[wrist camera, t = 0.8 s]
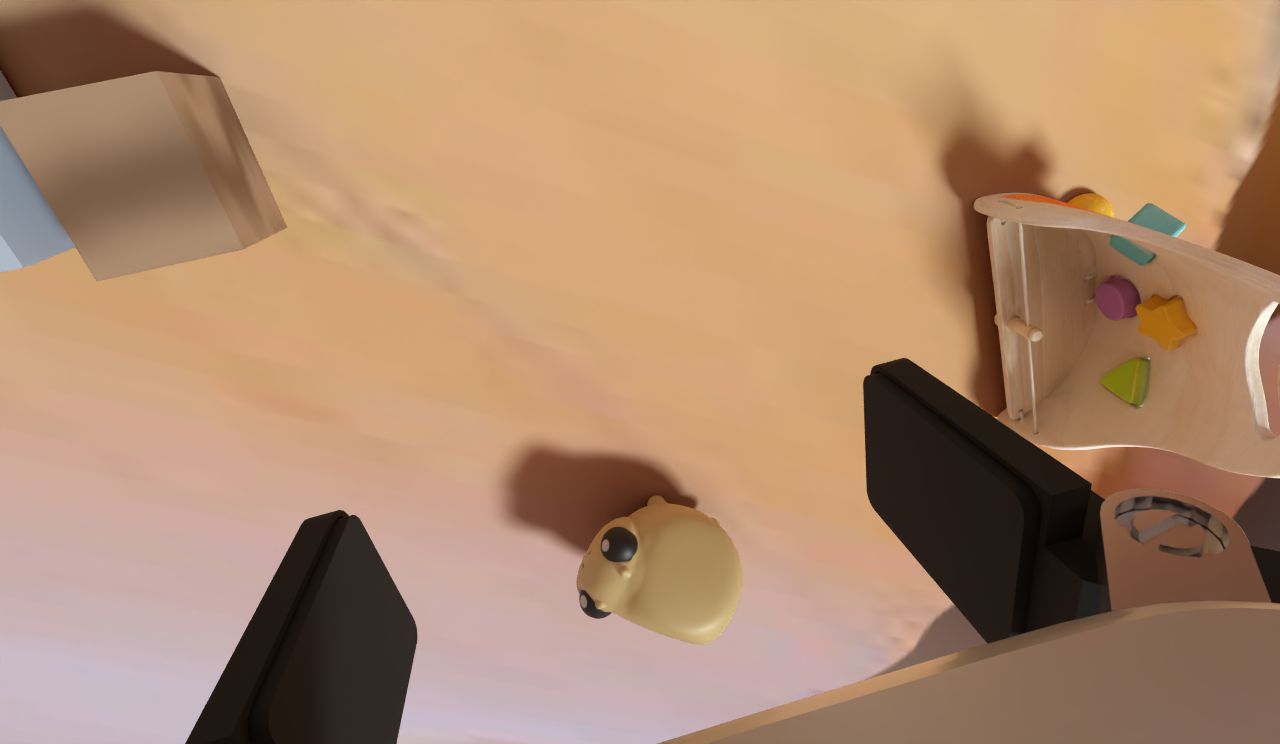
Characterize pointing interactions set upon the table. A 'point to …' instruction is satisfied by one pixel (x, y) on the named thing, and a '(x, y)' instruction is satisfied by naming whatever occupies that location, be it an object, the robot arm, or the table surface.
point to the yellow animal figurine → (663, 572)
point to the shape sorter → (1128, 333)
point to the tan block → (144, 170)
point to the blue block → (24, 210)
